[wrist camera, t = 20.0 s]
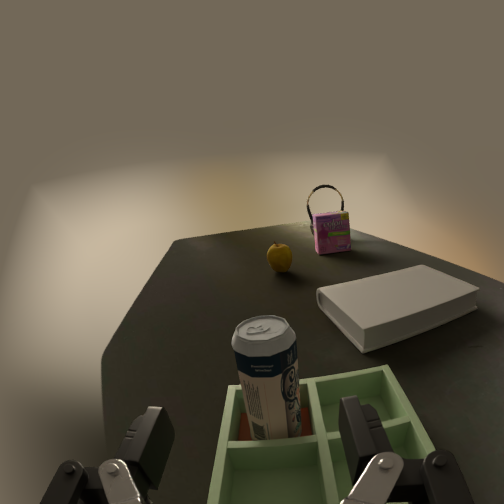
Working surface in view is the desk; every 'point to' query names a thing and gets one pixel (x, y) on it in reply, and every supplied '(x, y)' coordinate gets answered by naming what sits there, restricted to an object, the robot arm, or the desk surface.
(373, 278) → the book
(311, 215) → the headphones
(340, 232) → the box
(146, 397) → the desk surface
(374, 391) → the compartment tray
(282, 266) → the apple
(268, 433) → the beer can
